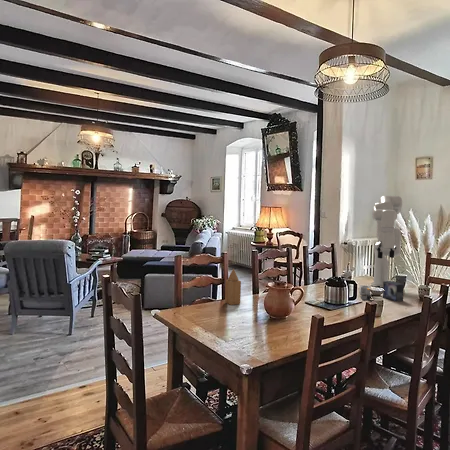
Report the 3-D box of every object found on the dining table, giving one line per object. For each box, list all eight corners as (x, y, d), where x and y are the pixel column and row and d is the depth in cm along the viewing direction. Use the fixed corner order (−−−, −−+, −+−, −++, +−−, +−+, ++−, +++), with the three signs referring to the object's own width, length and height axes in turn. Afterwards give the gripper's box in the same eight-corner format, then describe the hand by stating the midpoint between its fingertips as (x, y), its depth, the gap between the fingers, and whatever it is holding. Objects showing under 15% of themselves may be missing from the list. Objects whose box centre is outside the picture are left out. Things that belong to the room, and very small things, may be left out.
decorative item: (234, 301, 221) (235, 267, 219) (240, 304, 215) (241, 268, 214) (224, 302, 217) (225, 267, 216) (231, 305, 212) (232, 269, 210)
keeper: (360, 297, 239) (360, 286, 239) (373, 298, 237) (374, 287, 237) (362, 300, 231) (362, 289, 231) (376, 301, 230) (376, 290, 229)
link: (359, 292, 252) (359, 285, 251) (368, 293, 250) (369, 285, 250) (360, 294, 246) (360, 287, 245) (370, 295, 244) (370, 287, 244)
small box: (381, 297, 240) (382, 281, 239) (389, 296, 242) (390, 280, 242) (395, 301, 230) (396, 284, 229) (403, 300, 233) (404, 283, 232)
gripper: (392, 229, 241) (391, 256, 242) (372, 229, 234) (370, 257, 234) (402, 230, 234) (401, 258, 235) (381, 230, 227) (380, 259, 228)
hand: (385, 257), depth 235 cm, fingers open, 9 cm apart
